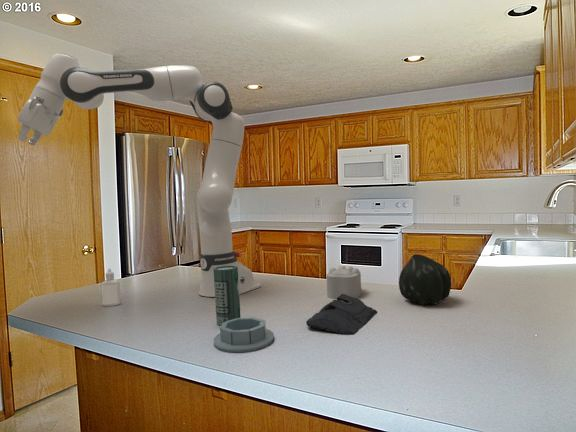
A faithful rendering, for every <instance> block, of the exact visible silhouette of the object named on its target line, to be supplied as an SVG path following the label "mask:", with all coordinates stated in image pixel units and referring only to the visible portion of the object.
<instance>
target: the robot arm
mask: <svg viewBox="0 0 576 432" xmlns="http://www.w3.org/2000/svg"><path fill="white" fill-rule="evenodd" d="M126 92H128V93H135V94H140V95H142V96H143V97H145V98H147V99H149V100H150V101H155V102H156V101H157V102H169V101H175V100H188V101H189V103H190V106H191V107H192V109H193V111H194V113H195V114H196V116H197V117H198V118H199V119H200V120H201V121H203V122H207V123H212V134H211V137H210V142H209V144H208V151H207V154H206V158H205V164H204V169H203V175H202V180H201V185H200V187H199V188H198V191H197V193H196V196H195V197H196V206H197V208H196V209H197V210H196V211H197V220H198V228H199V243H200V253H199V264H200V269H201V277H200V278H201V279H200V286H199V291H198V295H200V296H203V297H209V298H210V297H213V298H215V287H214V271H213V269H214V268H216V267H221V266H237V267H238V283H239V295H241V294H245V293H246V292H250V291H252V290H257V289H258V288H261V283H259V282H258V281H255V279H254V275H253V271H252V270H251V269H250V268H249V267H247V266H245V265H244V264H243V263H241V262H240V261H239V260H238V258H242V257H243V255H244V254H243V252H242V251H236V252H235V251H234V249H233V234H232V226H231V219H230V213H229V208H230V206H231V204H232V202H233V197H234V190H235V185H236V184H235V183H236V177H237V169H238V164H239V162H240V161H239V160H240V158H241V156H240V155H241V152H242V148H243V142H244V136H245V120H244V118H243V117H242V116H241V115H239V114H237V113H236V112H233V105H232V101H231V97H230V93H229V91H228V90H227V87H225V85H224V84H223V83H220V82H218V81H208V82H206V83H205V82H204V79H203V76H202V74H201V72H200V70H199V69H198V68H197V67H195V66H194V65H193V66H192V65H186V64H185V65H183V64H180V65H177V64H175V65H174V64H173V65H163V66H154V67H148V68H139V69H123V70H122V69H121V70H119V69H118V70H115V69H114V70H92V69H89V68H87V67H83V66H82V64H81V62H80V60H78V59H77V58H75V57H74V56H71V55H69V54H65V53H59V52H58V53H54V54H52V56H51V57H50V58H49V59H48V61H47V63H46V64H45V66H44V68H43V69H42V72H41V74H40V79H39V81H38V82H37V83H36V84H35V86H34V87H33V90H32V92H31V94H30V96H29V97H28V100H26V102H25V103H24V105H23V107H22V108H21V110H20V112H19V114H18V116H17V122H18V123H20V124H21V126H20V129H19V135H18V137H17V139H18V140H19V141H21V142H24V143H25V142H26V141H27V139H28V135H29V133H30V131H31V130H33V134H32V136H31V138H29V140H28V142H27V143H28V145H31V146H32V147H33V146H34V147H35V146H36V145H37V143H38V142H39V141H40V139H41V138H42V137H43V136H49V135H50V134H51V133H52V131H53V129H54V127H55V126H56V124H57V122H58V119H59V118H61V117H62V116H63V113H64V109H63V108H64V106H65V103H66V101H67V100H70V101H72V102H73V104H75V105H76V106H78V107H79V108H81V109H83V110H88V111H89V110H91V111H92V110H95V109H97V108H99V107H100V106H101V105H102V104H103V102H104V98H105V97H104V94H113V93H114V94H115V93H126Z"/></svg>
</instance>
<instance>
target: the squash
mask: <svg viewBox="0 0 576 432" xmlns="http://www.w3.org/2000/svg"><path fill="white" fill-rule="evenodd" d="M412 254H413V253H412ZM398 278H399V279H398V288H399V291H400V294H401V297H403V298H404V299H406V300H407V301H409V302H410V303H413V304H421V305H424V306H425V305H428V304H430V305H437V304H439V303H440V302H441V301H443V300H446V299H447V298H448V297H449V296H450V293H451V287H452V278H451V274H450V272H449V270H448V269H447V268H446V267H445V265H443V264H441V263H439V262H438V261H436V260H435V259H432V258H430V257H428V256H426V255H422V254H418V253H414V254H413V255H411V257H410V258H409V260H408V261H407V263H406V264H405V265H404V266H403V268H402V270H401V272H400V275H399V277H398Z"/></svg>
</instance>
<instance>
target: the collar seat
mask: <svg viewBox="0 0 576 432" xmlns="http://www.w3.org/2000/svg"><path fill="white" fill-rule="evenodd" d="M266 327H267V326H266V320H265V319H262V318H260V317H259V318H258V317H253V316H252V317H251V316H250V317H241V318H238V319H237V318H235V319H232V320H229V321H226V322H224V323H222V325H221V326H219V330H220V331H219V332H220V333H218V334H216V335H215V337H214V338H213V346H214V347H215V349H216V350H218V351H221V352H225V353H235V354H236V353H238V354H239V353H240V354H241V353H250V352H256V351H259V350H262V349H265V348H267V347H269V346H270V345H272V344H273V342H274V341H275V336H274V332H273V331H272V330H271V329H268V328H266Z"/></svg>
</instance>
